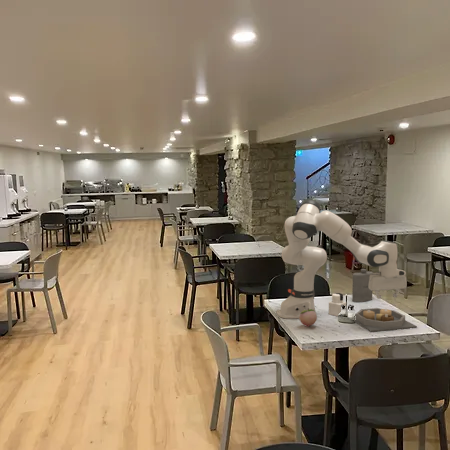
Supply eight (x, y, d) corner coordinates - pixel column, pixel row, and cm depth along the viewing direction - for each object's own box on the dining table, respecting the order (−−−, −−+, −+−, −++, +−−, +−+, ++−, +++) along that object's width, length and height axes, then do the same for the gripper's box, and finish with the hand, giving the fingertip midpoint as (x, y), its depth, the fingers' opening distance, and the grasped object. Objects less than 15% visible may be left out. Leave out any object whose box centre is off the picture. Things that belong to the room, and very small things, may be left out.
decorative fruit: (308, 330, 229) (308, 311, 228) (296, 326, 236) (296, 308, 235) (320, 327, 235) (320, 308, 234) (309, 323, 241) (309, 304, 240)
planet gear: (385, 326, 232) (385, 318, 232) (378, 322, 238) (378, 314, 238) (396, 325, 234) (396, 317, 233) (389, 321, 240) (389, 313, 239)
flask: (357, 303, 277) (358, 271, 275) (350, 301, 282) (351, 269, 280) (375, 299, 284) (375, 268, 282) (368, 297, 289) (368, 267, 287)
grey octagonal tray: (370, 332, 226) (370, 320, 226) (346, 316, 251) (346, 306, 251) (416, 328, 232) (417, 316, 231) (388, 313, 257) (388, 302, 256)
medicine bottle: (335, 311, 261) (335, 291, 259) (346, 314, 256) (346, 293, 254) (328, 314, 256) (328, 293, 254) (339, 317, 251) (339, 296, 249)
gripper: (373, 274, 228) (372, 300, 229) (408, 271, 232) (407, 297, 234) (366, 271, 234) (365, 297, 236) (401, 269, 238) (400, 294, 240)
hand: (387, 297), depth 235 cm, fingers open, 8 cm apart
